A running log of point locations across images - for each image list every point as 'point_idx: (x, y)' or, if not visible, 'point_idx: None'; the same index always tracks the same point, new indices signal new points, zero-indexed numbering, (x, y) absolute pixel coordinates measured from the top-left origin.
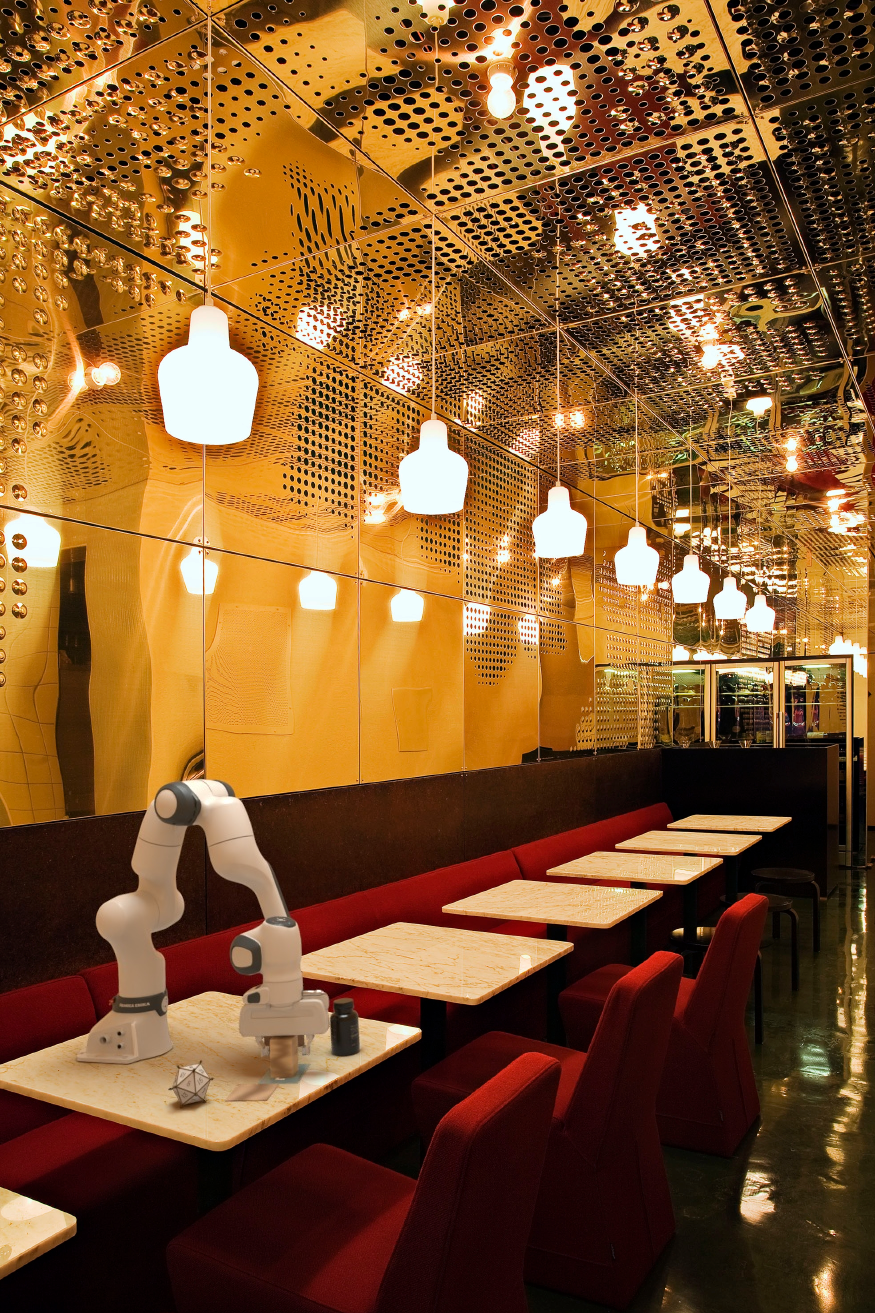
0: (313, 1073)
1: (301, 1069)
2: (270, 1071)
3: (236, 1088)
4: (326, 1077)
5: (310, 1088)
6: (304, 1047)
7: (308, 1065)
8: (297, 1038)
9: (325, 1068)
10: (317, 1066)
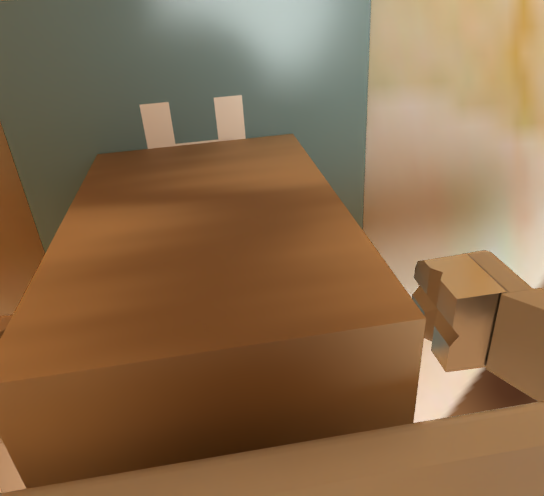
0: (423, 177)
1: (319, 132)
2: (57, 195)
3: (10, 488)
4: (518, 240)
5: (437, 389)
6: (477, 367)
7: (358, 24)
8: (388, 271)
9: (506, 61)
10: (435, 9)
